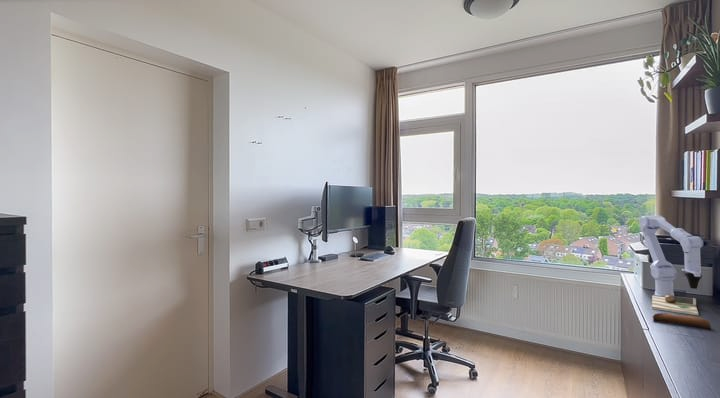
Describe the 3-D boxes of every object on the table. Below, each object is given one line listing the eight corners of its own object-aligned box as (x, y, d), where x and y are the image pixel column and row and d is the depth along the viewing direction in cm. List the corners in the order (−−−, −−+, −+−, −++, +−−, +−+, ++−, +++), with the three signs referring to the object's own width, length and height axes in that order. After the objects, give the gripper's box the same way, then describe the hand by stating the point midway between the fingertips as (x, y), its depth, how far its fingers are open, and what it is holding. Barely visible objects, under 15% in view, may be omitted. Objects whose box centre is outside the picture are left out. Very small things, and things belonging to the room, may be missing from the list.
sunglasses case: (706, 323, 144) (707, 312, 142) (710, 336, 140) (711, 325, 137) (650, 316, 155) (651, 305, 152) (652, 328, 150) (653, 317, 147)
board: (652, 297, 181) (652, 295, 181) (694, 303, 170) (694, 300, 170) (652, 308, 164) (652, 306, 164) (698, 315, 154) (698, 312, 154)
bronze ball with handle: (665, 301, 169) (665, 296, 169) (665, 299, 172) (664, 294, 172) (696, 305, 162) (696, 299, 162) (695, 303, 165) (695, 297, 165)
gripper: (677, 258, 176) (678, 284, 176) (685, 262, 163) (686, 290, 163) (696, 258, 172) (697, 285, 172) (706, 263, 160) (707, 292, 160)
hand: (693, 288), depth 167 cm, fingers closed
